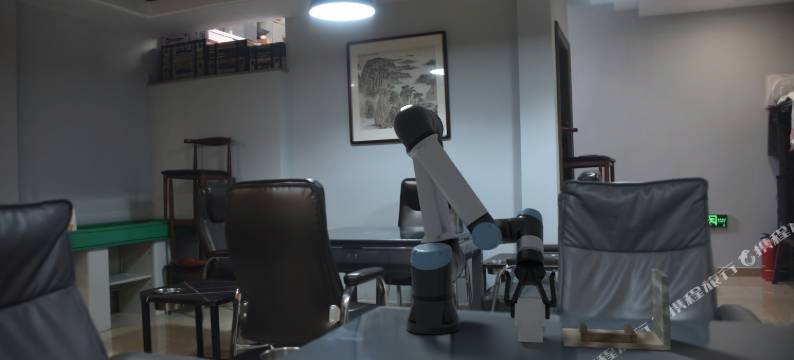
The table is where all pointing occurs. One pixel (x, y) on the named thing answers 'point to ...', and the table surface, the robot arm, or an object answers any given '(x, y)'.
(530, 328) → the grey upright block
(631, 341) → the display stand
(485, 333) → the table surface
